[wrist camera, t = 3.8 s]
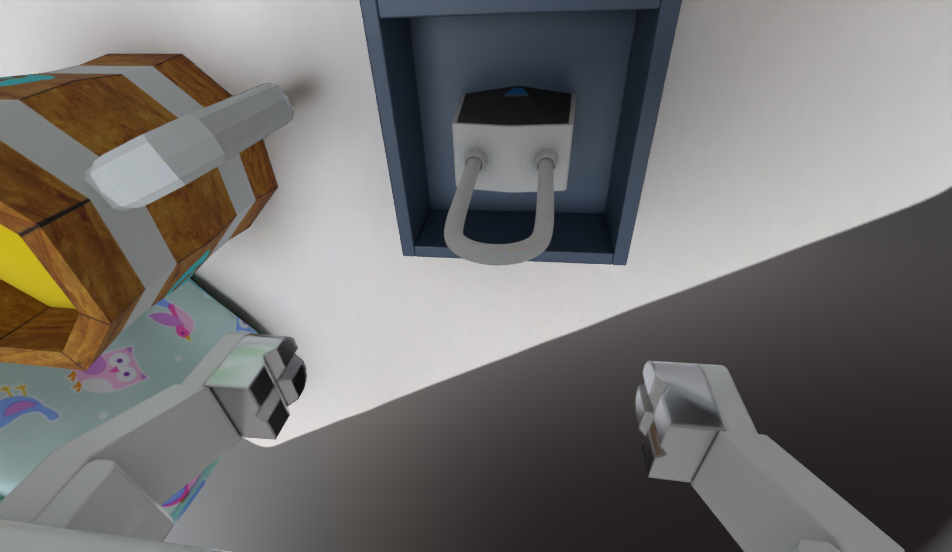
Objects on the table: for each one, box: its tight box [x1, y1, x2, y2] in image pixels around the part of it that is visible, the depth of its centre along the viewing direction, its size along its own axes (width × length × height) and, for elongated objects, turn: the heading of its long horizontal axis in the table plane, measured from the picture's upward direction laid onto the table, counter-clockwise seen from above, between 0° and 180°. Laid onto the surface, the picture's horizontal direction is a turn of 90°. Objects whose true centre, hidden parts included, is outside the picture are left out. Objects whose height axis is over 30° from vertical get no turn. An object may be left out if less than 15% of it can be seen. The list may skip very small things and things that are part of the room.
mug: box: [0, 54, 294, 371], centre depth 23 cm, size 20×14×15 cm
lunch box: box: [0, 278, 259, 523], centre depth 30 cm, size 27×10×21 cm, turn 40°
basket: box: [360, 0, 682, 265], centre depth 24 cm, size 14×14×6 cm
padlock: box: [444, 86, 576, 265], centre depth 19 cm, size 7×4×15 cm, turn 92°
